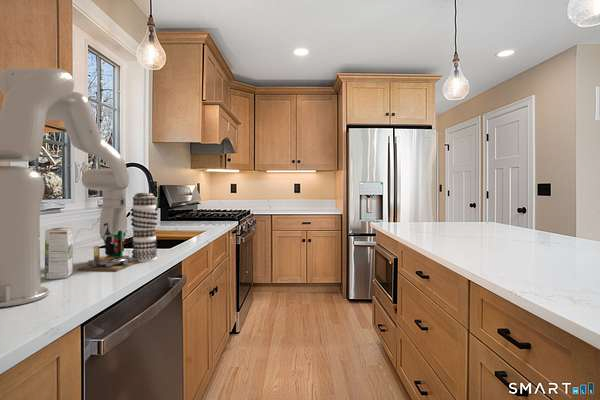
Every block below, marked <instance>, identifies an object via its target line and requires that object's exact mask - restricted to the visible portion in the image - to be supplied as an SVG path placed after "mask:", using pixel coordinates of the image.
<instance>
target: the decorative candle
mask: <svg viewBox="0 0 600 400" xmlns="http://www.w3.org/2000/svg"><path fill="white" fill-rule="evenodd" d="M158 210H159V209H158V208H157V205H156V196H155V194H154V193H152V192H136V193H135V194H134V196H133V197H132V208H131V209H130V212H131V213H130V216H131V217H132V218H130V220H131V226H132V227H131V229H132V231H133V232H132V233H133V234H132V241H131V245H132V246H131V248H132V251H131V254H132V255H131V257H133V260H138V263H147V262H153V261H156V260H158V259H157V251H158V249H157V246H158V245H157V243H158V241H157V236H156V229H158V228H157V225H158V223H157V222H156V221H157V220H158V217H157V216H158V213H157V211H158Z"/></svg>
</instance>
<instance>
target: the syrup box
mask: <svg viewBox="0 0 600 400" xmlns="http://www.w3.org/2000/svg"><path fill="white" fill-rule="evenodd" d="M73 255H74V228H72V227H54V228H53V227H52V228H49V229H47V230H45V232H44V280H57V279H58V280H59V279H68V278H69V277H70V276H71V275H72V274H73V271H74V269H73V268H74V267H73V262H74V261H73V260H74V256H73Z"/></svg>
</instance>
